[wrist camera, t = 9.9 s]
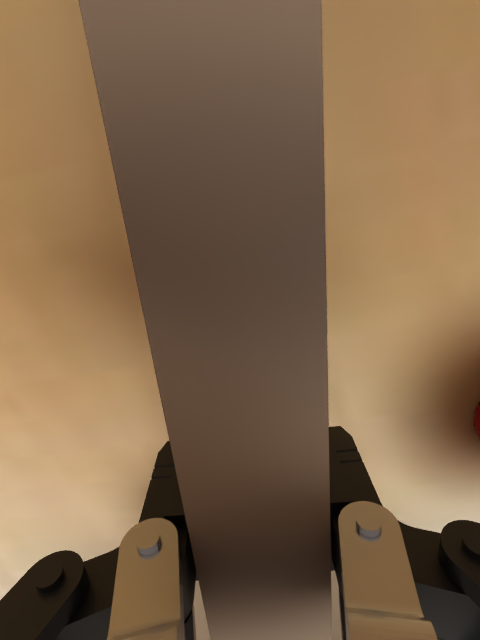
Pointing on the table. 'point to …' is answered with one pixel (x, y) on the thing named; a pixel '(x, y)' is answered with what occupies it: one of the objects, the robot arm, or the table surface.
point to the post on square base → (231, 284)
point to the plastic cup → (477, 420)
